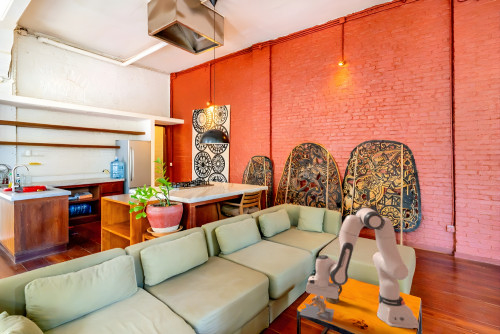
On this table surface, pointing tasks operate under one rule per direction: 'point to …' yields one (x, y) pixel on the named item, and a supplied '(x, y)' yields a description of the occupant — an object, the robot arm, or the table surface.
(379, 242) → the robot arm
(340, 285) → the wooden mug
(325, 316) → the mat
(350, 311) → the table surface
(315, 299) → the stool
